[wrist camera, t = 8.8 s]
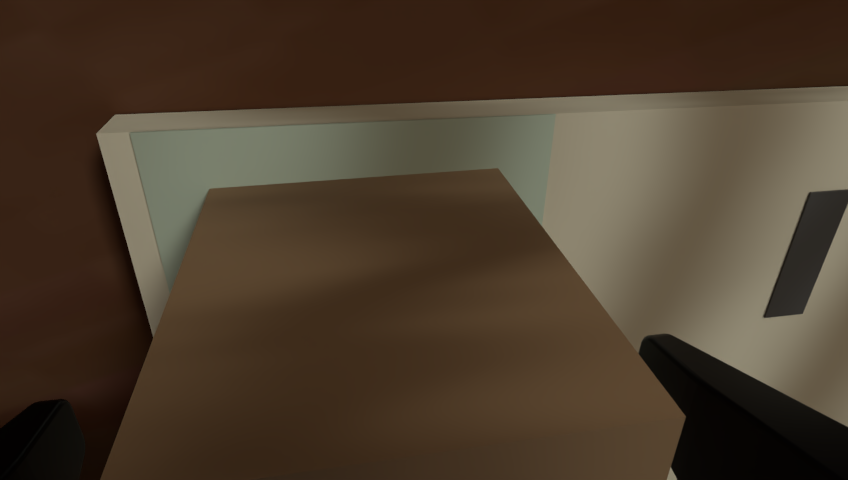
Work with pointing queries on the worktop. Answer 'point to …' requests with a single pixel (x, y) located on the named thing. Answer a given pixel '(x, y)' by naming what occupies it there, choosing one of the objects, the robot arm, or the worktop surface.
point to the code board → (570, 203)
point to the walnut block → (388, 345)
